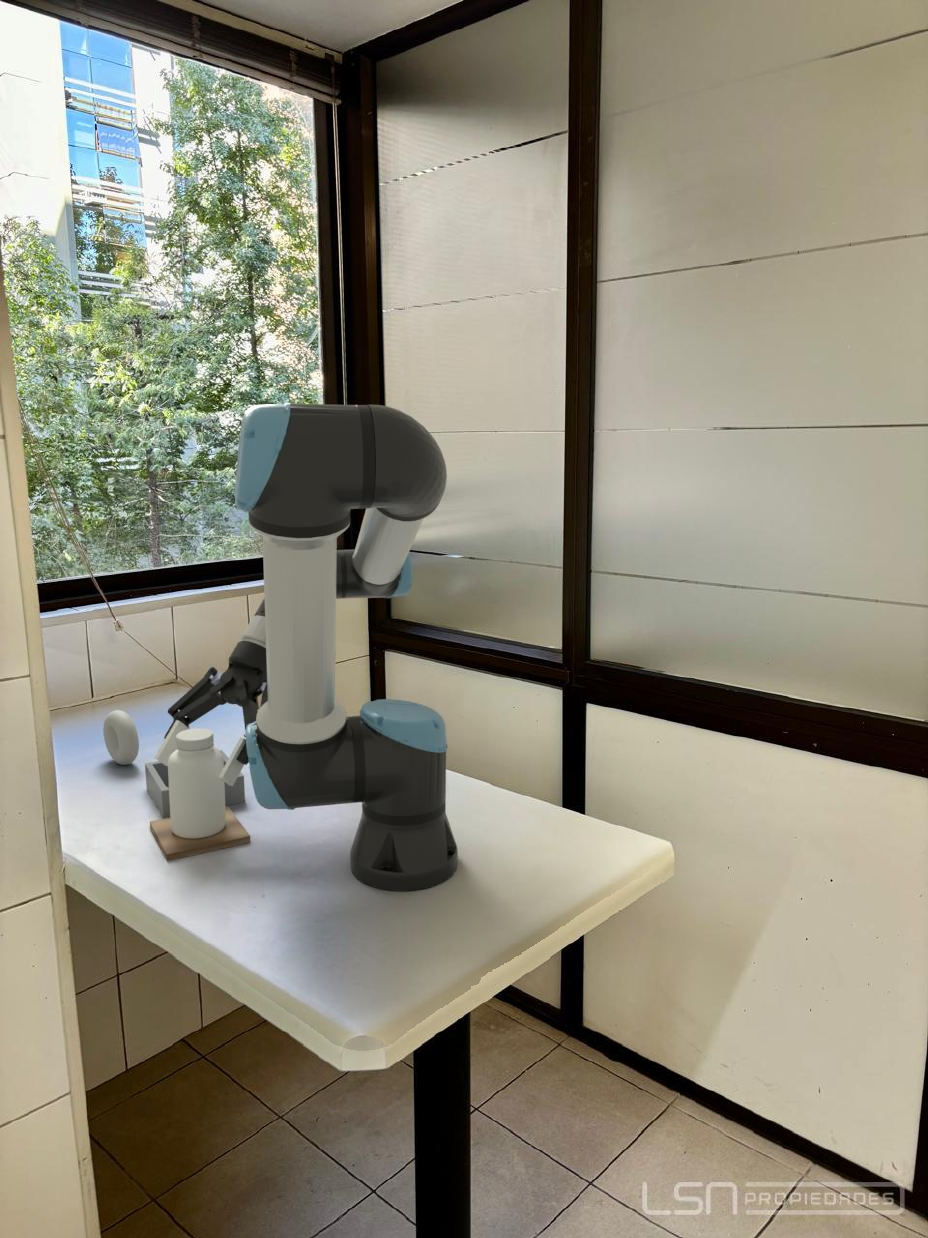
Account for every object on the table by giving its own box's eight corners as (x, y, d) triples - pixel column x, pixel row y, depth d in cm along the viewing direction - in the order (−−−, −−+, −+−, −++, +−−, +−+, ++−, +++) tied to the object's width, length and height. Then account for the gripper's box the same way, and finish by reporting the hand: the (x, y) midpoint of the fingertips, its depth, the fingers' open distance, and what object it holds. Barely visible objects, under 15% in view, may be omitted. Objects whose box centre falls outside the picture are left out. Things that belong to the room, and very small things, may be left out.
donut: (102, 758, 166) (98, 706, 164) (120, 753, 168) (116, 702, 166) (125, 774, 159) (121, 720, 157) (144, 769, 161) (140, 715, 159)
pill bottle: (218, 841, 132) (213, 744, 129) (163, 839, 133) (157, 742, 129) (232, 817, 140) (228, 725, 137) (181, 816, 140) (175, 724, 137)
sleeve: (245, 801, 148) (243, 775, 147) (163, 818, 142) (161, 791, 141) (223, 774, 159) (222, 750, 158) (146, 788, 153) (144, 763, 152)
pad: (250, 842, 134) (250, 836, 134) (167, 860, 128) (166, 854, 128) (228, 811, 144) (227, 805, 144) (150, 827, 139) (149, 821, 138)
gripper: (333, 676, 139) (268, 801, 130) (218, 652, 152) (151, 765, 143) (309, 650, 134) (239, 779, 125) (191, 627, 147) (120, 743, 138)
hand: (192, 772), depth 134 cm, fingers open, 13 cm apart
